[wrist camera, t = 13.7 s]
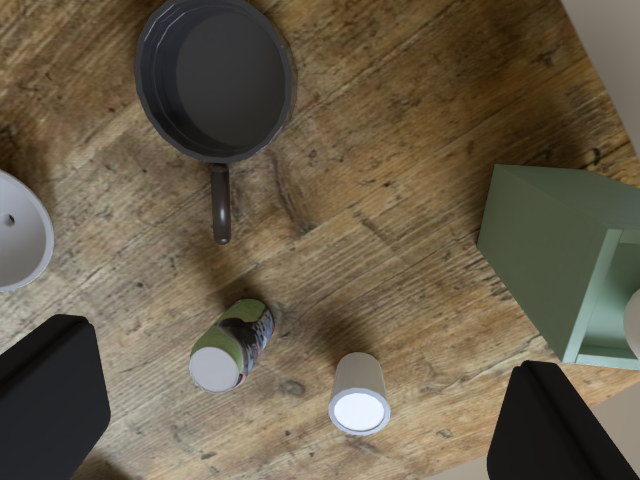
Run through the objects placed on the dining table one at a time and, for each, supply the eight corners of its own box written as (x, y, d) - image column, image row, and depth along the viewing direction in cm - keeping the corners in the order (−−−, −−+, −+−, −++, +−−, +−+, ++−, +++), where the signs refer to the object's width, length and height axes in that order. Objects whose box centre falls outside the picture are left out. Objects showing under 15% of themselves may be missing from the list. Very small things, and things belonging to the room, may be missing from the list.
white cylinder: (382, 345, 48) (386, 385, 41) (389, 389, 50) (394, 434, 44) (327, 350, 49) (322, 391, 42) (337, 393, 51) (334, 438, 45)
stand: (494, 163, 39) (608, 228, 21) (588, 170, 38) (786, 242, 20) (476, 246, 42) (561, 362, 24) (562, 253, 41) (713, 377, 24)
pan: (148, -4, 36) (124, -15, 32) (300, 2, 35) (293, -8, 31) (163, 151, 41) (143, 157, 38) (295, 160, 40) (289, 168, 37)
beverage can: (249, 344, 50) (217, 419, 38) (211, 302, 48) (167, 368, 37) (288, 322, 48) (266, 393, 37) (250, 277, 46) (215, 338, 35)
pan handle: (213, 158, 39) (206, 162, 37) (231, 160, 39) (225, 163, 37) (217, 240, 42) (211, 246, 41) (233, 241, 42) (228, 248, 40)
